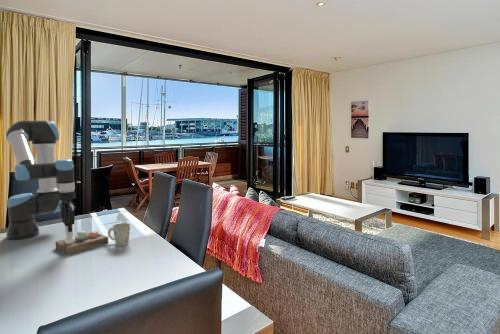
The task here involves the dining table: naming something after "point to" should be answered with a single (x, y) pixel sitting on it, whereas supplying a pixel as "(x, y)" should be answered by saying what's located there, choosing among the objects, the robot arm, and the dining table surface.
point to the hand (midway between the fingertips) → (69, 237)
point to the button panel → (81, 244)
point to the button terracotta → (93, 234)
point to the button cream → (69, 241)
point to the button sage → (81, 235)
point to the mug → (120, 233)
